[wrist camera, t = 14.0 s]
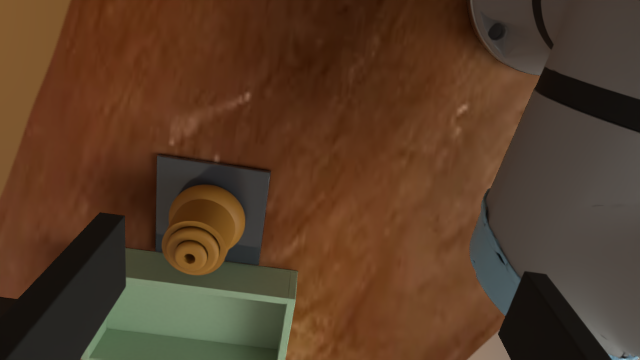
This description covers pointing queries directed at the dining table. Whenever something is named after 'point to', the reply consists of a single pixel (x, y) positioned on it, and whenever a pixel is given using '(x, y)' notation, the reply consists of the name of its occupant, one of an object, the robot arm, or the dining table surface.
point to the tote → (197, 313)
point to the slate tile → (235, 179)
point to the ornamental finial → (202, 229)
